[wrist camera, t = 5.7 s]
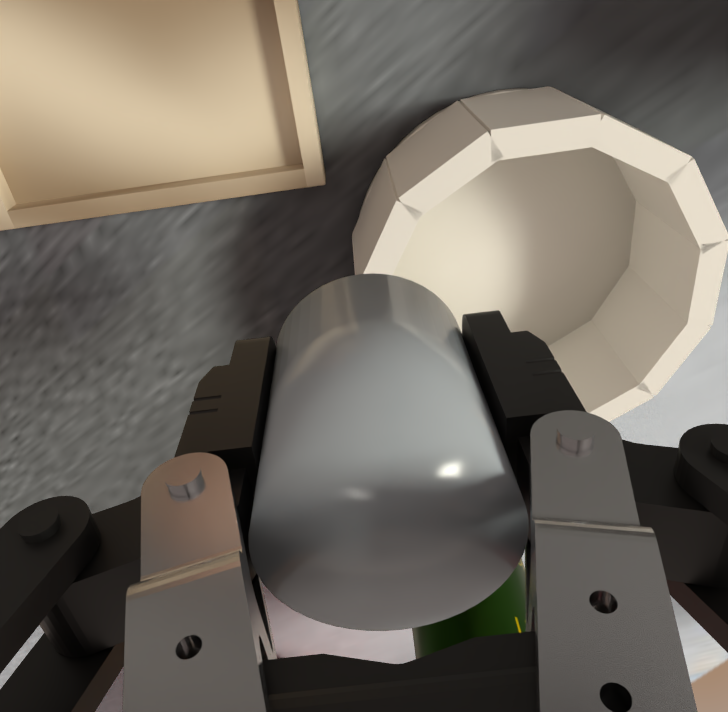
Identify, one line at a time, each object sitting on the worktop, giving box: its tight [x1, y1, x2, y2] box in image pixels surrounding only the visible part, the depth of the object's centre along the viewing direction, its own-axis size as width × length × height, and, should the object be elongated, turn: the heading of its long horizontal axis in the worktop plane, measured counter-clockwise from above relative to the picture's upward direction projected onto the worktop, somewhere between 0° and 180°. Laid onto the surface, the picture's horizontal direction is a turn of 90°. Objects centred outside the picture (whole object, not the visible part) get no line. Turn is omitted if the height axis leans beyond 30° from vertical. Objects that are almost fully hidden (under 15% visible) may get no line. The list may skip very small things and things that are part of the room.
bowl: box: [352, 86, 728, 422], centre depth 20 cm, size 11×11×5 cm
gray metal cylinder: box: [248, 273, 529, 631], centre depth 11 cm, size 4×4×5 cm
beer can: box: [412, 559, 526, 659], centre depth 25 cm, size 5×5×12 cm
